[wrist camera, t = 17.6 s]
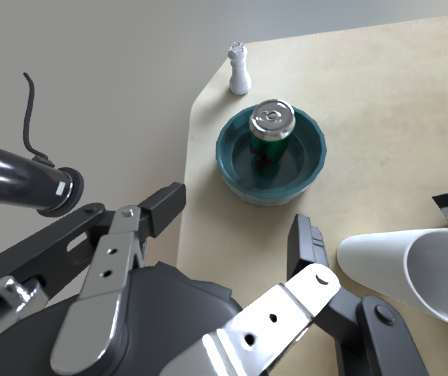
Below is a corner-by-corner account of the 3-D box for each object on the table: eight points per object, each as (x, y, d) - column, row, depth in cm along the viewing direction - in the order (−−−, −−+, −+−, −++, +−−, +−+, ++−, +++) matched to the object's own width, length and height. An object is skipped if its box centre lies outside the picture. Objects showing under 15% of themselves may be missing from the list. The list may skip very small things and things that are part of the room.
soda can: (281, 177, 28) (299, 134, 17) (250, 177, 29) (248, 137, 18) (280, 149, 30) (295, 93, 18) (250, 151, 30) (248, 98, 19)
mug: (337, 284, 23) (417, 326, 12) (330, 233, 25) (393, 227, 14) (426, 291, 21) (618, 347, 10) (410, 235, 23) (558, 230, 12)
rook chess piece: (228, 83, 37) (221, 42, 29) (248, 76, 36) (246, 33, 29) (232, 98, 35) (227, 60, 28) (253, 92, 35) (253, 51, 27)
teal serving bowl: (206, 175, 31) (195, 161, 26) (254, 115, 33) (253, 89, 28) (279, 226, 27) (286, 222, 21) (329, 152, 29) (347, 130, 23)
